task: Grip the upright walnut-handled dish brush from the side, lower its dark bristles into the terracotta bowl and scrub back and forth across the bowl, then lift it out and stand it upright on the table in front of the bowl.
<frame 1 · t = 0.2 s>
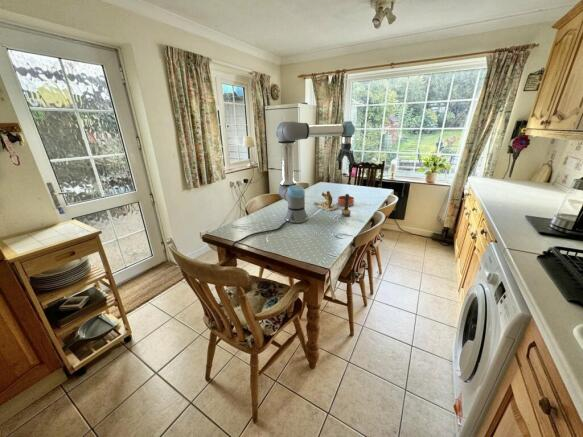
hand: (344, 171, 186), 28 cm above the table, tool pointing down, fingers open, 13 cm apart
bowl: (345, 204, 197), on the table
wooden toy: (324, 206, 193), on the table
dish brush: (345, 215, 172), on the table
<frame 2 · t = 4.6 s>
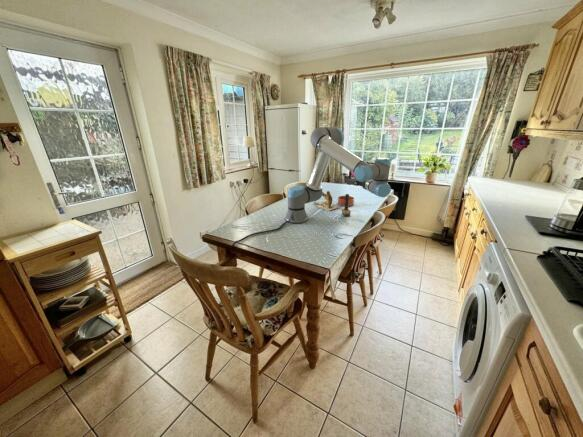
hand: (354, 177, 153), 30 cm above the table, tool horizontal, fingers open, 13 cm apart
nothing on the table moved.
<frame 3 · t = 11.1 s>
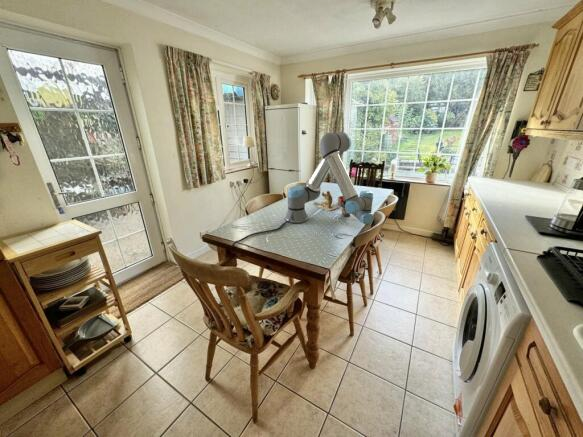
hand: (343, 200, 174), 10 cm above the table, tool horizontal, fingers closed on dish brush, 3 cm apart
dish brush: (345, 215, 172), on the table, touching gripper
everything else where it was.
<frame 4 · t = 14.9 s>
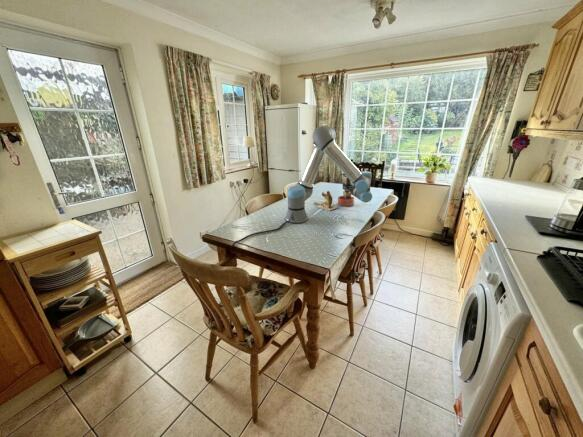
hand: (345, 184, 186), 18 cm above the table, tool horizontal, fingers closed on dish brush, 3 cm apart
dish brush: (346, 197, 185), point 9 cm above the table, touching gripper
everything else where it was.
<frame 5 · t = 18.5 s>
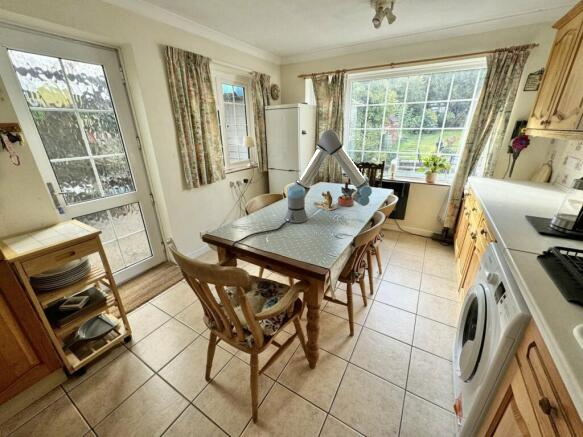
hand: (343, 188, 198), 12 cm above the table, tool horizontal, fingers closed on dish brush, 3 cm apart
dish brush: (345, 200, 196), point 3 cm above the table, touching gripper
everything else where it was.
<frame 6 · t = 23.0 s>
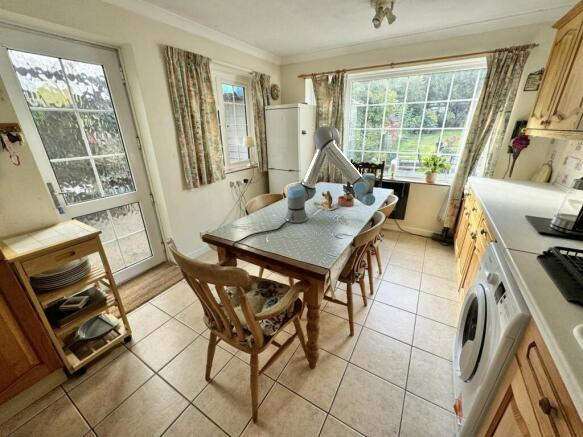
hand: (345, 186, 180), 18 cm above the table, tool horizontal, fingers closed on dish brush, 3 cm apart
dish brush: (347, 200, 178), point 9 cm above the table, touching gripper
everything else where it was.
when the fingers open (9 cm above the table, at t = 26.2 s): dish brush stays where it is, on the table.
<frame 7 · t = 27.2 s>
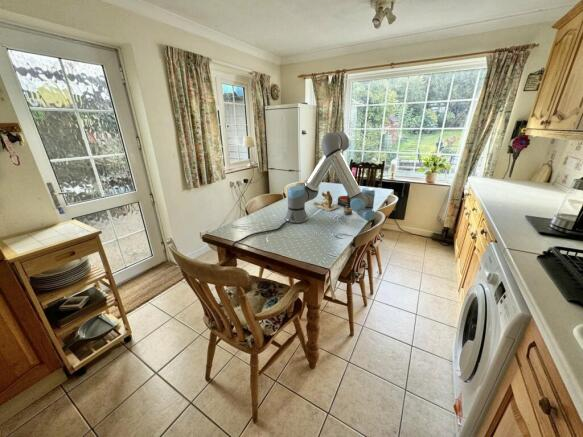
hand: (346, 199, 176), 10 cm above the table, tool horizontal, fingers open, 13 cm apart
dish brush: (347, 213, 176), on the table
everything else where it was.
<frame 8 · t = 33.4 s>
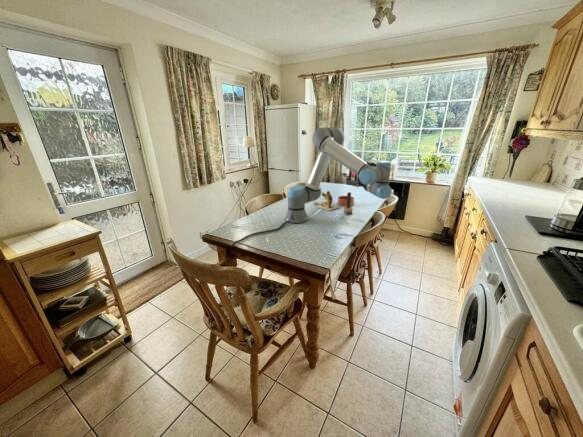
hand: (356, 179, 157), 28 cm above the table, tool horizontal, fingers open, 13 cm apart
nothing on the table moved.
at the end: dish brush 0.1 cm from the target spot on the table beside the bowl, on the table; dish brush tilted 0°; the gripper is holding nothing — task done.
